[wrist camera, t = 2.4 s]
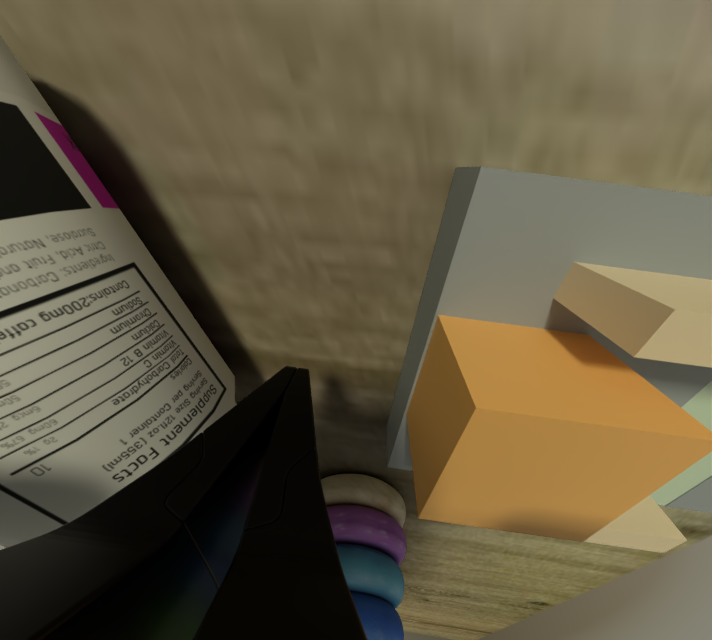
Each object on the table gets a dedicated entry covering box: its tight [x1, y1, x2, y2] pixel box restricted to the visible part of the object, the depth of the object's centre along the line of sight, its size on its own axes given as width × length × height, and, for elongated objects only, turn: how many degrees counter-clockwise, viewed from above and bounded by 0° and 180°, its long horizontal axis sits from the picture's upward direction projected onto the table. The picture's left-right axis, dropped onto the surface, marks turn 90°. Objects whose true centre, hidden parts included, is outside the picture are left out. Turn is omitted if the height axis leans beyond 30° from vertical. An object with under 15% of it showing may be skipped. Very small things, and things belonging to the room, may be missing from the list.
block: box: [406, 315, 712, 542], centre depth 8 cm, size 5×5×4 cm
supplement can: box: [0, 36, 237, 548], centre depth 8 cm, size 8×8×15 cm
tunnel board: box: [386, 167, 712, 553], centre depth 10 cm, size 14×22×6 cm, turn 84°
